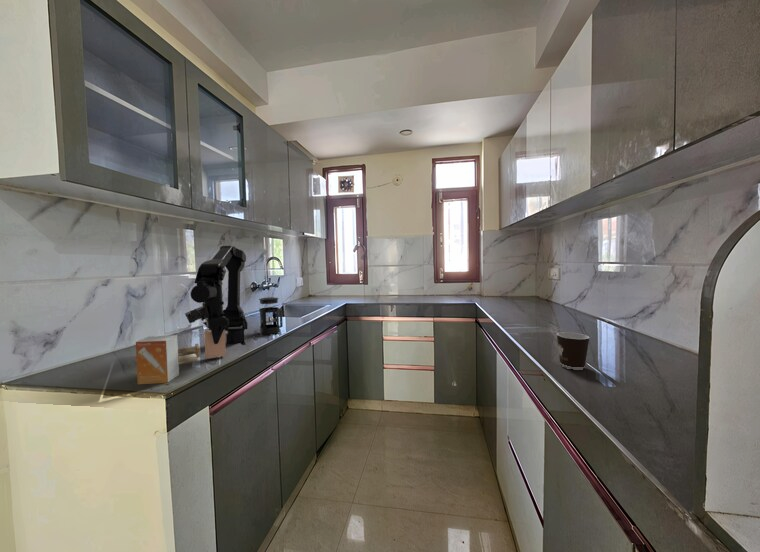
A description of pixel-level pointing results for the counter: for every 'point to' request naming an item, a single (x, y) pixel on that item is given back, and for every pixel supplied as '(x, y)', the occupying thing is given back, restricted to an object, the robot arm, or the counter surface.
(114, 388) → the counter surface
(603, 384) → the counter surface
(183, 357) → the offcut top
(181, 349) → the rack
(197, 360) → the offcut bottom
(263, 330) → the french press
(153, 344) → the small box
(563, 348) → the coffee mug
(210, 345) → the salmon pink block
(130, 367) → the counter surface
